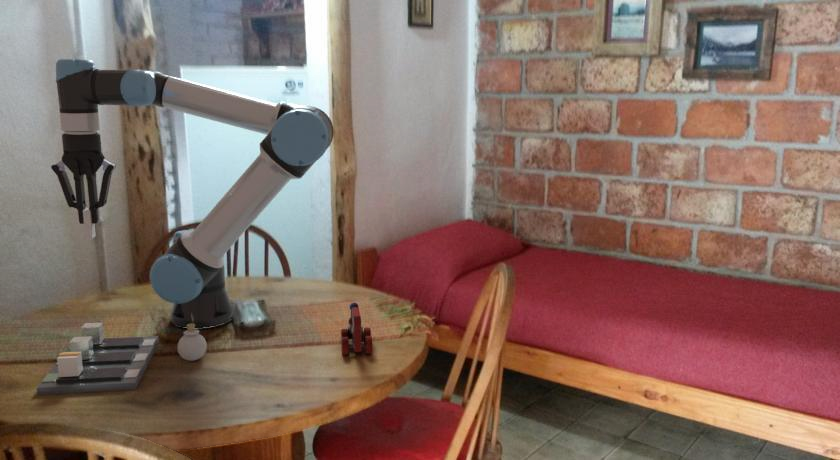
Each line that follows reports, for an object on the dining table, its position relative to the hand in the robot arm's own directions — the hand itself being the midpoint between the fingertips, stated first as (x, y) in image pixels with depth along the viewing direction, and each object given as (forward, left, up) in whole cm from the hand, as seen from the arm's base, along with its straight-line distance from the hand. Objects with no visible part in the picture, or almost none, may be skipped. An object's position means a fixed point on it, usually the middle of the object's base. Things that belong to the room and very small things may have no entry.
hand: (90, 237), depth 152 cm
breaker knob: (-1, +24, -22) cm, 32 cm away
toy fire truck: (-59, +13, -25) cm, 65 cm away
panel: (-5, +16, -24) cm, 29 cm away
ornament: (-23, +14, -25) cm, 36 cm away
